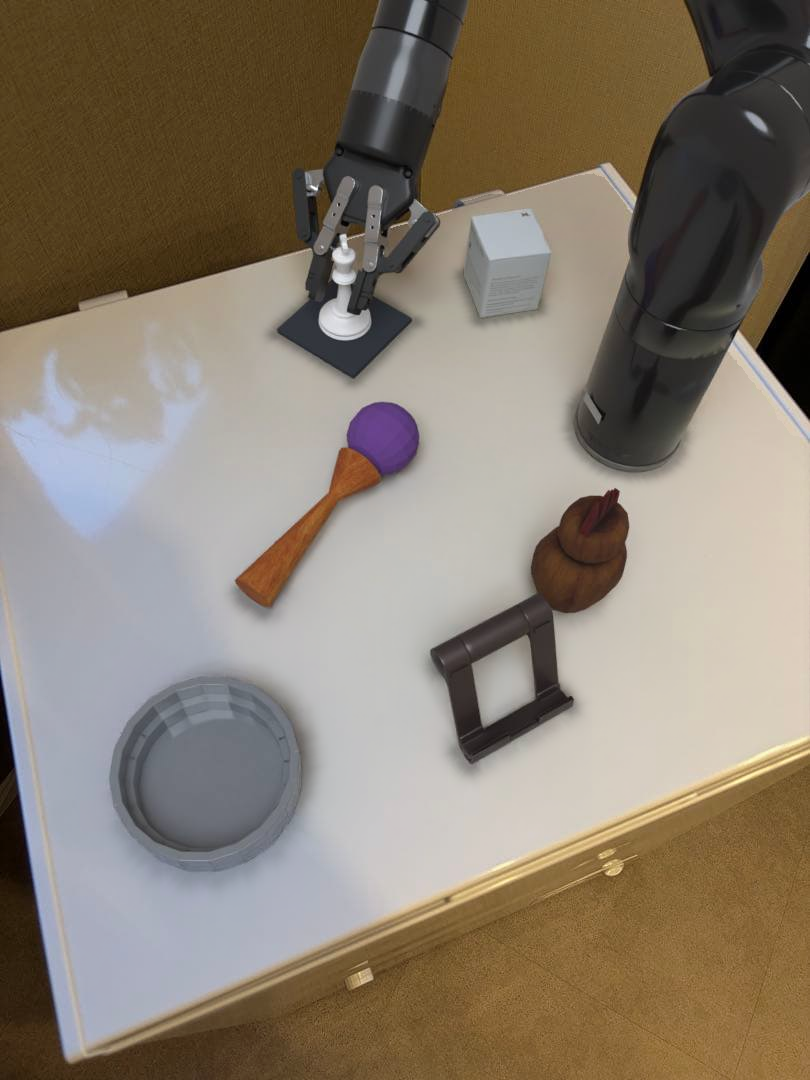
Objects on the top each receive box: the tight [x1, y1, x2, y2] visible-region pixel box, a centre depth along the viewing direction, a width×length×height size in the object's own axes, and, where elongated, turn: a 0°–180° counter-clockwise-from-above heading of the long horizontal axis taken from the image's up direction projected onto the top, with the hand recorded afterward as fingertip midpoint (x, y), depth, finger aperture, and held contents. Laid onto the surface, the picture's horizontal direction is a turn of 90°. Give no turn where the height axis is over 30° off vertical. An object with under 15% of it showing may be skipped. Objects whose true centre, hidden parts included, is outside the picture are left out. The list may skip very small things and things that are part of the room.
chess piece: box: [319, 234, 371, 340], centre depth 79 cm, size 5×5×10 cm
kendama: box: [234, 401, 420, 609], centre depth 71 cm, size 6×6×20 cm
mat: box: [276, 278, 413, 379], centre depth 83 cm, size 9×9×1 cm
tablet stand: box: [429, 593, 575, 765], centre depth 62 cm, size 9×8×8 cm
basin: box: [108, 676, 303, 872], centre depth 60 cm, size 12×12×4 cm
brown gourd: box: [530, 487, 630, 614], centre depth 64 cm, size 7×6×15 cm
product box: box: [463, 207, 553, 319], centre depth 84 cm, size 6×6×7 cm
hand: (334, 306), depth 79 cm, fingers open, 3 cm apart
